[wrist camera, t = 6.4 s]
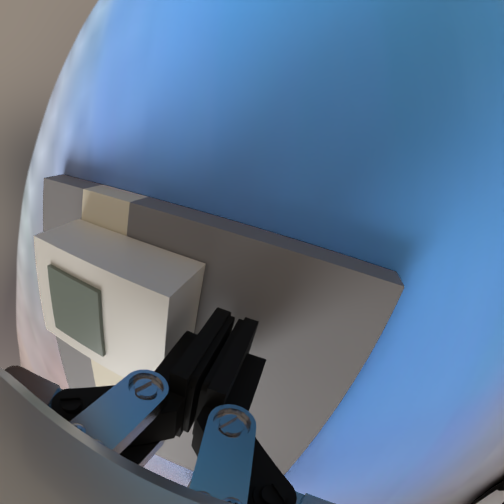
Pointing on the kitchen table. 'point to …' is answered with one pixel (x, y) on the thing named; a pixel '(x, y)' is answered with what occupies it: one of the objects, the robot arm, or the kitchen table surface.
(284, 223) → the kitchen table surface
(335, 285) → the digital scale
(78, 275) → the block
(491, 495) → the milk container
